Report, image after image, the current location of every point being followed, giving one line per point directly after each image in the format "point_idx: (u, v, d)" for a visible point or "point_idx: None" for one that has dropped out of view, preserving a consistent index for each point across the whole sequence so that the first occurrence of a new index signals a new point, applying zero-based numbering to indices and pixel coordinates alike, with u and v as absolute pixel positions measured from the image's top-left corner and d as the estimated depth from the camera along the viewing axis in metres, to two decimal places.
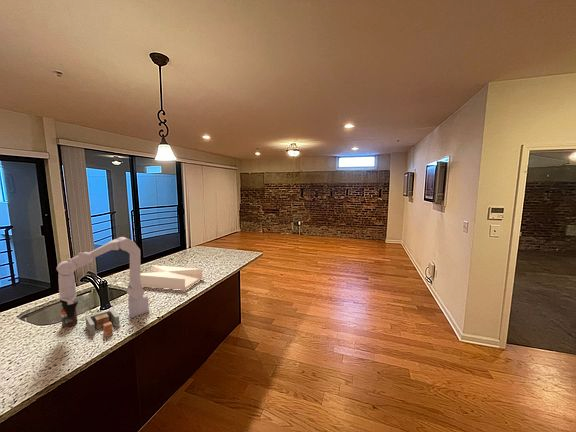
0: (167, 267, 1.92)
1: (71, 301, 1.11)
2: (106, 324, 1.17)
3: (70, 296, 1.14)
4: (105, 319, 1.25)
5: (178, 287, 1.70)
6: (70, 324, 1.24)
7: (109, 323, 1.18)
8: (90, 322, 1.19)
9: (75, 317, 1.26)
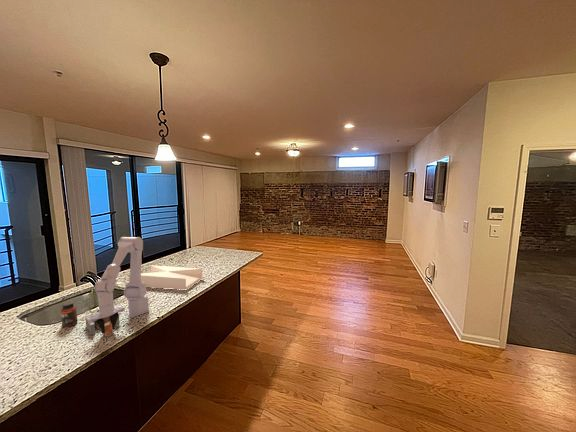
0: (166, 267, 1.92)
1: (88, 320, 1.11)
2: (106, 324, 1.17)
3: (100, 314, 1.15)
4: (105, 319, 1.25)
5: (179, 287, 1.70)
6: (70, 324, 1.24)
7: (109, 323, 1.18)
8: None
9: (75, 317, 1.26)
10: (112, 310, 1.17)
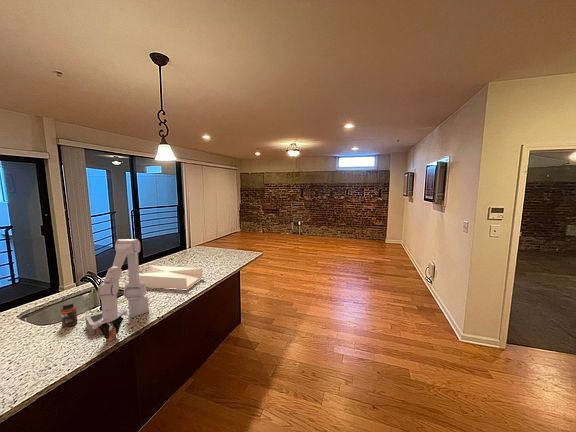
0: (166, 267, 1.92)
1: (93, 326, 1.06)
2: (109, 329, 1.13)
3: (104, 319, 1.10)
4: None
5: (180, 287, 1.70)
6: (70, 324, 1.24)
7: (112, 328, 1.14)
8: (90, 322, 1.19)
9: (75, 317, 1.26)
10: (116, 313, 1.13)
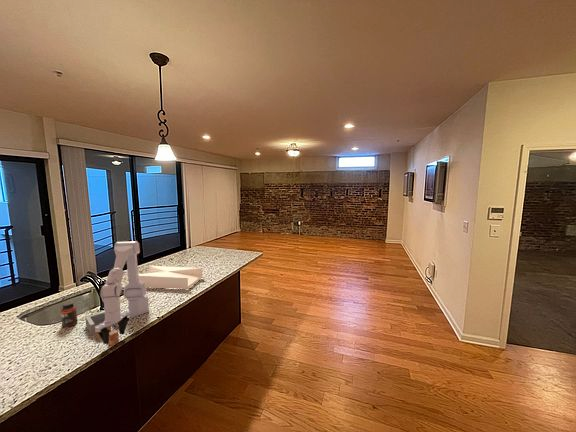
0: (166, 267, 1.92)
1: (97, 329, 1.03)
2: (112, 333, 1.10)
3: (107, 322, 1.07)
4: (107, 328, 1.17)
5: (181, 286, 1.71)
6: (70, 324, 1.24)
7: (115, 331, 1.11)
8: (90, 322, 1.19)
9: (75, 317, 1.26)
10: (120, 315, 1.11)
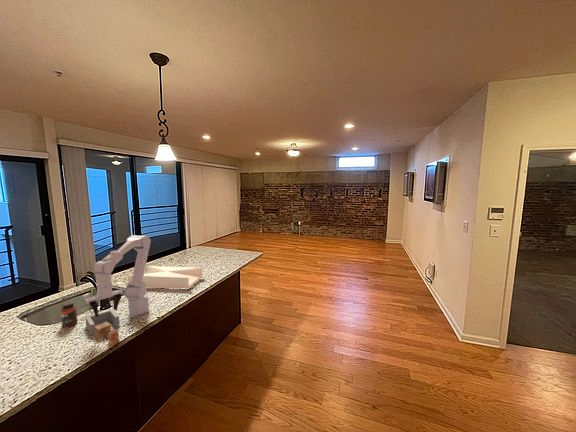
0: (165, 267, 1.92)
1: (86, 301, 1.12)
2: (112, 333, 1.10)
3: (98, 296, 1.15)
4: (107, 328, 1.17)
5: (181, 286, 1.71)
6: (70, 324, 1.24)
7: (115, 331, 1.11)
8: (90, 322, 1.19)
9: (75, 317, 1.26)
10: (110, 292, 1.18)
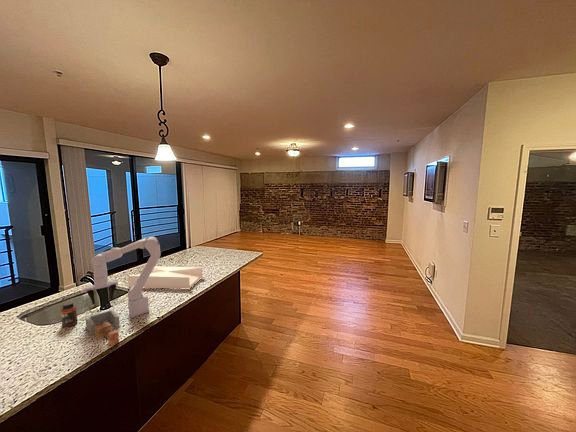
0: (165, 267, 1.92)
1: (84, 290, 1.25)
2: (112, 333, 1.10)
3: (94, 285, 1.28)
4: (107, 328, 1.17)
5: (182, 286, 1.72)
6: (70, 324, 1.24)
7: (115, 331, 1.11)
8: (90, 322, 1.19)
9: (75, 317, 1.26)
10: (105, 282, 1.30)
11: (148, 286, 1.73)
